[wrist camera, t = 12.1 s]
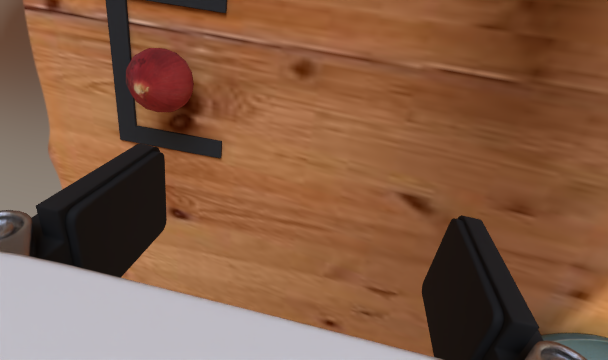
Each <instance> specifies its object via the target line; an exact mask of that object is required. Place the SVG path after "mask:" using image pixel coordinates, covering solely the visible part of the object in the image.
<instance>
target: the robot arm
mask: <svg viewBox="0 0 608 360" xmlns="http://www.w3.org/2000/svg"><path fill="white" fill-rule="evenodd" d="M36 209H37V213H38V214H37V215H35V216H34V217H32V218H31V217H30V216H29V215H28V214H26V213H24V212H20V211H13V210H4V211H0V360H587V359H586V358H585V357H583V356H582V355H581V354H580V353H578V352H576V351H575V350H573V349H571V348H569V347H568V346H565V345H563V344H560V343H558V342H554V341H548V340H546V341H544V340H543V338H542V336H541V335H540V333H539V331H538V328H539V326H538V324H537V323H536V321H535V319H534V317H533V315H532V313H531V311H530V310H529V308H528V306H527V304H526V302H525V300H524V298H523V296H522V295H521V293H520V291H519V289H518V287H517V285H516V283H515V282H514V280H513V278H512V276H511V274H510V272H509V270H508V269H507V267H506V265H505V263H504V261H503V259H502V257H501V255H500V254H499V252H498V250H497V248H496V246H495V244H494V242H493V241H492V239H491V237H490V235H489V233H488V231H487V229H486V227H485V226H484V224H483V222H482V221H481V220H479V219H475V218H471V217H466V216H462V215H461V216H459V217H458V219H452V220H451V222H450V224H449V226H448V228H447V230H446V233H445V235H444V237H443V239H442V242H441V244H440V246H439V248H438V250H437V253H436V255H435V257H434V259H433V262H432V264H431V266H430V268H429V271H428V273H427V275H426V277H425V279H424V282H423V285H422V296H423V301H424V306H425V311H426V317H427V322H428V327H429V332H430V337H431V342H432V348H433V353H434V357H432V356H428V355H424V354H420V353H416V352H412V351H408V350H405V349H401V348H397V347H393V346H389V345H385V344H381V343H377V342H374V341H370V340H366V339H362V338H358V337H354V336H350V335H346V334H342V333H339V332H335V331H331V330H327V329H323V328H319V327H315V326H311V325H307V324H304V323H300V322H296V321H292V320H288V319H284V318H280V317H276V316H272V315H268V314H264V313H260V312H256V311H252V310H248V309H244V308H240V307H236V306H232V305H228V304H224V303H220V302H216V301H212V300H208V299H204V298H200V297H197V296H193V295H188V294H184V293H180V292H176V291H172V290H168V289H164V288H160V287H156V286H152V285H148V284H144V283H140V282H136V281H132V280H128V279H124V278H121V277H122V275H123V274H124V273H125V272H126V271H127V270H128V269H129V268H130V267H131V266H132V264H133V263H134V262H135V261H136V260H137V259H138V258H139V257H140V256H141V254H142V253H143V252H144V251H145V250H146V249H147V248H148V247H149V246H150V244H151V243H152V242H153V241H154V240H155V239H156V238H157V237H158V236H159V235H160V233H161V232H162V231H163V230H164V228H165V225H166V191H165V160H164V154H163V153H161V152H160V150H159V148H157V147H154V146H149V145H145V144H137V145H135V146H134V147H132V148H130V149H129V150H127V151H125V152H124V153H122V154H120V155H119V156H117V157H115V158H114V159H112V160H111V161H109V162H107V163H106V164H104V165H102V166H101V167H99V168H97V169H96V170H94V171H92V172H91V173H89V174H87V175H86V176H84V177H83V178H81V179H79V180H78V181H76V182H74V183H73V184H71V185H69V186H68V187H66V188H64V189H63V190H61V191H59V192H58V193H56V194H54V195H53V196H51V197H50V198H48V199H46V200H45V201H43V202H41V203H40V204H38V205H36Z"/></svg>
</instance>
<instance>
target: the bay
mask: <svg viewBox="0 0 608 360" xmlns="http://www.w3.org/2000/svg"><path fill="white" fill-rule="evenodd" d="M147 1H154V2H160V3H166V4H172V5H178V6H185V7H191V8H197V9H203V10H209V11H215V12H222V13H226V10H227V0H147ZM106 8H107V17H108V27H109V36H110V46H111V55H112V65H113V74H114V84H115V93H116V103H117V112H118V122H119V131H120V140H125V141H131V142H136V143H141V144H147V145H152V146H157V147H163V148H168V149H173V150H179V151H184V152H189V153H195V154H200V155H205V156H210V157H216V158H221V152H222V141H218V140H212V139H207V138H201V137H196V136H190V135H185V134H180V133H174V132H169V131H163V130H158V129H153V128H147V127H142V126H137V123H136V111H135V99H134V97H133V96H132V95H131V93H130V91H129V89H128V86H127V84H126V69H127V67H128V65H129V63H130V62H131V49H130V37H129V25H128V12H127V0H106Z"/></svg>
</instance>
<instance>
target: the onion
mask: <svg viewBox="0 0 608 360" xmlns="http://www.w3.org/2000/svg"><path fill="white" fill-rule="evenodd" d="M126 84H127V86H128V89H129V91H130V93H131V95H132V96H133V97H134V99H135V100H136V101H137V102H138V103H139V104H140V105H142V106H143V107H145V108H146V109H149V110H153V111H156V112H173V111H176V110H177V109H179V108H181V107H182V106H184V105H185V104H186V103H187V102H188V100H189V99H190V97H191V96H192V91H193V85H194V83H193V77H192V72H191V70H190V68H189V67H188V65H187V63H186V61H185V60H184V59H182V58H181V57H180V56H179V55H178V54H177V53H175V52H172V51H170V50H167V49H163V48H148V49H146V50H144V51H142V52H140V53H138V54H137V55H135V56H134V57H133V58H132V60H131V62H130V63H129V65H128V67H127V69H126Z"/></svg>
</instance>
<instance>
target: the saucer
mask: <svg viewBox="0 0 608 360" xmlns="http://www.w3.org/2000/svg"><path fill="white" fill-rule="evenodd" d="M541 336H542V338H543V340H544V341H546V340H548V341H554V342H558V343H560V344H563V345H565V346H568V347H569V348H571V349H573V350H575V351H576V352H578V353H580V354H581V355H582V356H583V357H585V358H586V359H587V360H608V338H606V337H602V336H597V335H590V334H581V333H558V334H548V335H541Z"/></svg>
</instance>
